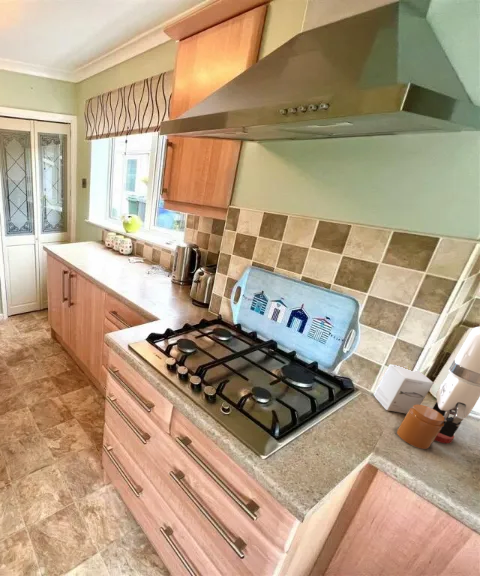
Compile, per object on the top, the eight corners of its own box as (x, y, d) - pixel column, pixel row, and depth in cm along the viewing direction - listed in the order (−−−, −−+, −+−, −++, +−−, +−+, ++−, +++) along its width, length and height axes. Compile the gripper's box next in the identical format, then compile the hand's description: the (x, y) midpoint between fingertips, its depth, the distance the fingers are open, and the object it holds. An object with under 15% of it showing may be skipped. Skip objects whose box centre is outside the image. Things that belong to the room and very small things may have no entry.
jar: (426, 437, 85) (443, 411, 81) (431, 453, 80) (449, 426, 76) (395, 425, 88) (410, 399, 85) (398, 439, 84) (413, 413, 80)
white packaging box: (386, 411, 94) (404, 377, 89) (372, 394, 100) (388, 363, 95) (414, 416, 92) (434, 383, 87) (398, 399, 99) (416, 367, 94)
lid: (413, 430, 87) (416, 425, 86) (418, 419, 91) (421, 414, 91) (449, 448, 82) (453, 443, 81) (453, 435, 86) (456, 431, 85)
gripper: (447, 353, 87) (420, 401, 93) (455, 381, 75) (424, 433, 81) (487, 365, 82) (456, 414, 89) (502, 397, 70) (465, 450, 77)
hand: (441, 423), depth 85 cm, fingers open, 9 cm apart
